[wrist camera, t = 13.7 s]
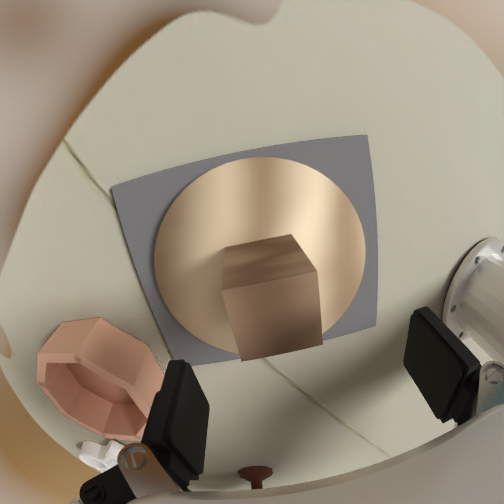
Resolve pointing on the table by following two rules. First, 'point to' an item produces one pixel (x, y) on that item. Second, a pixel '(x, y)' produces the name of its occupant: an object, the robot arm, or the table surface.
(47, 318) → the table surface
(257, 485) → the ice cream bowl
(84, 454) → the white holed part
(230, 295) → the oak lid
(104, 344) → the terracotta bowl
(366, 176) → the rubber mat
